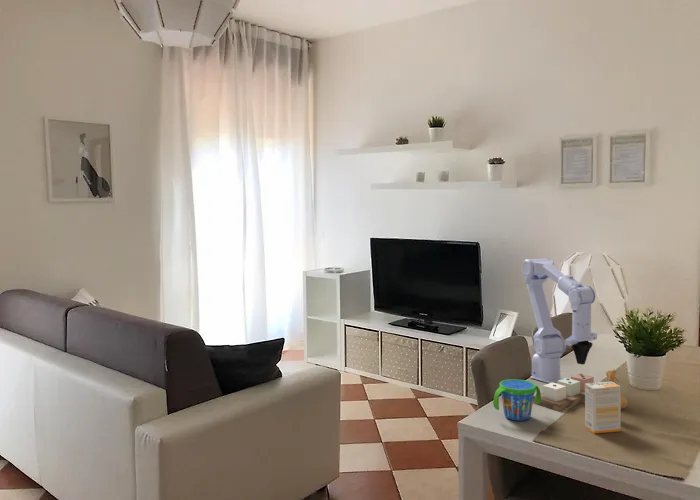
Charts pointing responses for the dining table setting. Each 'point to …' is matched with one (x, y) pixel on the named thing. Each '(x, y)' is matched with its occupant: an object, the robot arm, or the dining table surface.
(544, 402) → the tile board
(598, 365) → the dining table surface
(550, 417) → the dining table surface
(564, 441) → the dining table surface
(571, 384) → the tile two
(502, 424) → the dining table surface
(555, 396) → the tile one
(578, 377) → the tile three
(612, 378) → the figurine
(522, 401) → the snack cup
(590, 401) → the supplement box
